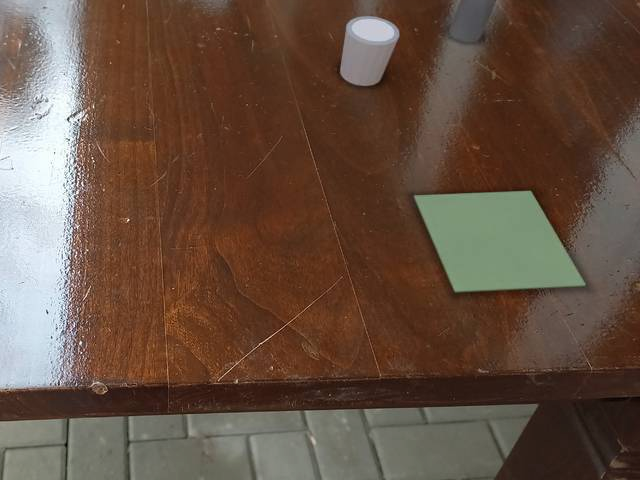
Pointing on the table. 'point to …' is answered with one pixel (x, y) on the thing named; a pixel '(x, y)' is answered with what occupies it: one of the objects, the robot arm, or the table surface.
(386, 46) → the white short cylinder
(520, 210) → the cloth
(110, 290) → the table surface
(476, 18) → the grey hollow cylinder
